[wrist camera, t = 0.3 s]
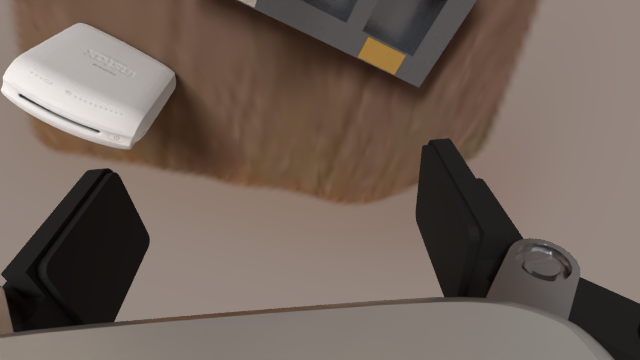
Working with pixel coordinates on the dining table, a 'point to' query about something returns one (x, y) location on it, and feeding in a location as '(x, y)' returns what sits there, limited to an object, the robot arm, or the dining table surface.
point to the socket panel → (377, 29)
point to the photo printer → (90, 86)
